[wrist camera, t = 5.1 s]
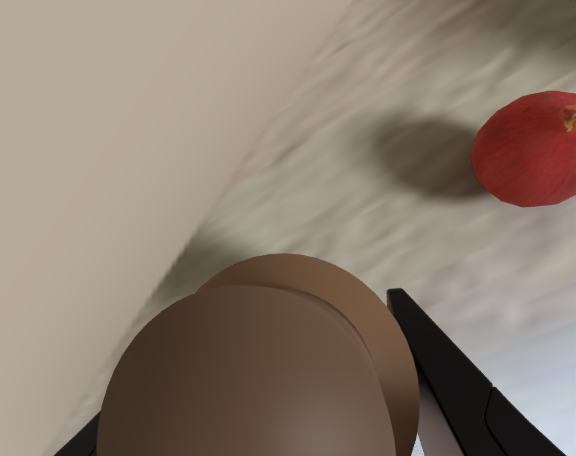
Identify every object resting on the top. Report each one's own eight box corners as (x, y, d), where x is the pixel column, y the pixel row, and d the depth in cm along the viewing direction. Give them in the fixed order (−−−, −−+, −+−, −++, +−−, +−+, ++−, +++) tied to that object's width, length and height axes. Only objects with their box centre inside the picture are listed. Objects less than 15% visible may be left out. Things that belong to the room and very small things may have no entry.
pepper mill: (361, 401, 15) (402, 856, 3) (261, 362, 16) (-13, 571, 4) (388, 294, 16) (514, 297, 4) (290, 265, 17) (131, 192, 5)
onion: (519, 117, 21) (614, 19, 14) (576, 191, 20) (720, 128, 12) (437, 160, 22) (484, 89, 14) (487, 235, 20) (572, 202, 13)
